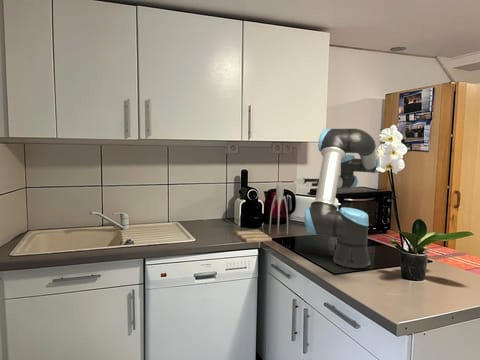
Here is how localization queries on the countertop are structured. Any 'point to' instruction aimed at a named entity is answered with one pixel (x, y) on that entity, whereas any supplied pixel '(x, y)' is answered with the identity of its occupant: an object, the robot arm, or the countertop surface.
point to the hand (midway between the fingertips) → (299, 182)
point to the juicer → (279, 203)
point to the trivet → (253, 236)
